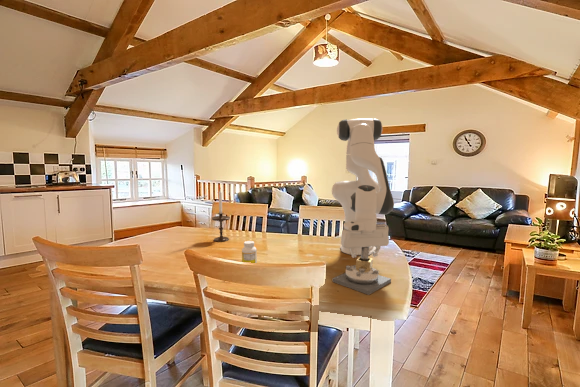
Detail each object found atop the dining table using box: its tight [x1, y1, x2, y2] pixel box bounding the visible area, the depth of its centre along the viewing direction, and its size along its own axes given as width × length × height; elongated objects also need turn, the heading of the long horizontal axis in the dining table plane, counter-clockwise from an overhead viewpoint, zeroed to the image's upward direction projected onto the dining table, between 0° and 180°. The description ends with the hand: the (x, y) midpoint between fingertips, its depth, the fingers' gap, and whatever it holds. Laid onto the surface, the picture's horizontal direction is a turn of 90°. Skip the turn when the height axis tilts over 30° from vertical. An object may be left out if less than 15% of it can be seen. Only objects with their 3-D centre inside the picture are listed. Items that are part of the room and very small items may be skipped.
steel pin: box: [360, 247, 370, 261], centre depth 127 cm, size 3×3×9 cm
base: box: [331, 272, 392, 296], centre depth 124 cm, size 17×17×4 cm
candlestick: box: [211, 185, 231, 243], centre depth 188 cm, size 11×11×35 cm
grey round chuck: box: [345, 255, 380, 284], centre depth 124 cm, size 14×13×6 cm
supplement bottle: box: [241, 240, 258, 264], centre depth 138 cm, size 7×7×13 cm
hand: (364, 256), depth 127 cm, fingers open, 8 cm apart
